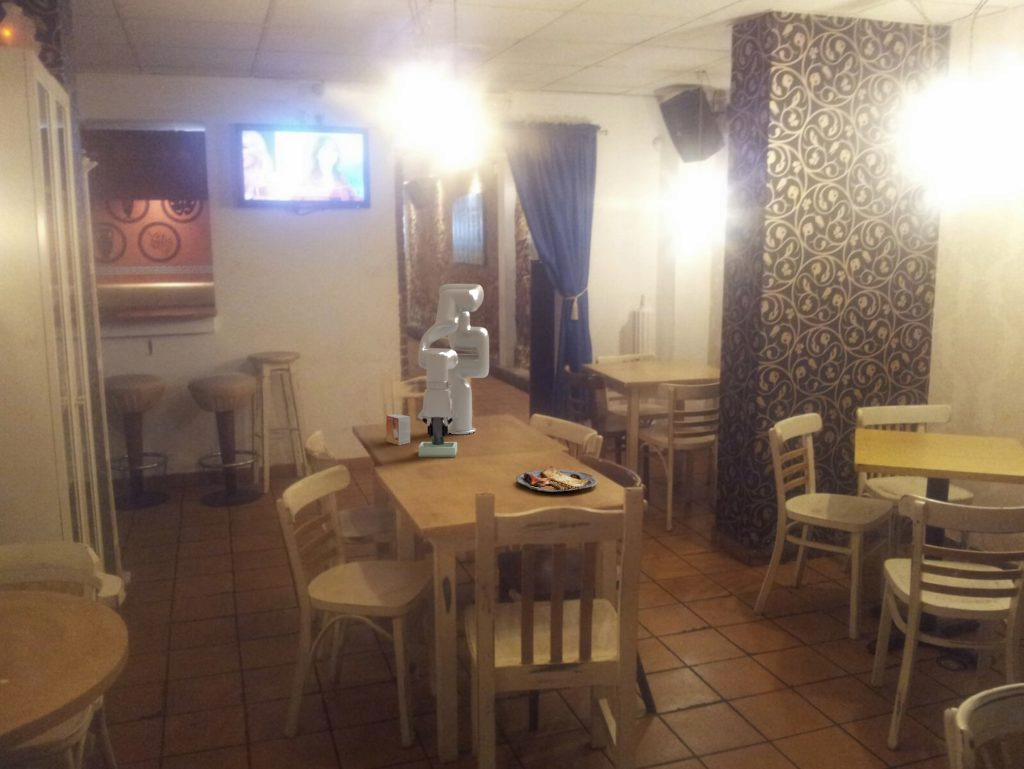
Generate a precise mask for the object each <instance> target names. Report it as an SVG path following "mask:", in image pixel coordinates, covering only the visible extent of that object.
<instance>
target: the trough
mask: <svg viewBox="0 0 1024 769" xmlns="http://www.w3.org/2000/svg"><path fill="white" fill-rule="evenodd" d="M457 453H458V441H444V444H443V445H433V444H432V441H420V444H419V445H418V458H456V456H457Z"/></svg>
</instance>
